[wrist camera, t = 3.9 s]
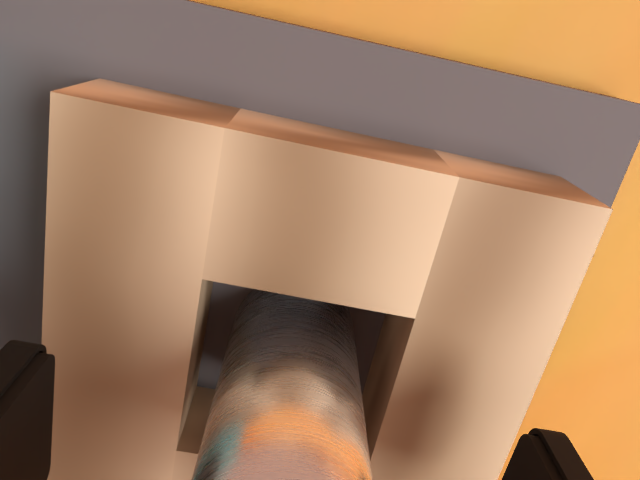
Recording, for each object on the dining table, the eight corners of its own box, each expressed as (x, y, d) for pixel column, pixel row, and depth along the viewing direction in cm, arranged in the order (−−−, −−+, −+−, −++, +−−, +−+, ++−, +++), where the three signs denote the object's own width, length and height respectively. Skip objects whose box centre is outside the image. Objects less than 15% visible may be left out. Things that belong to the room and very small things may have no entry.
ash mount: (560, 176, 13) (612, 209, 11) (432, 511, 17) (451, 587, 15) (99, 78, 12) (50, 91, 10) (74, 456, 16) (35, 528, 14)
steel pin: (365, 289, 14) (436, 660, 6) (338, 389, 16) (366, 817, 7) (243, 266, 14) (142, 621, 6) (225, 369, 15) (117, 790, 7)
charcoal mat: (619, 99, 14) (653, 107, 13) (449, 524, 20) (459, 563, 18) (-609, -182, 12) (-733, -210, 10) (-420, 392, 17) (-484, 425, 16)
